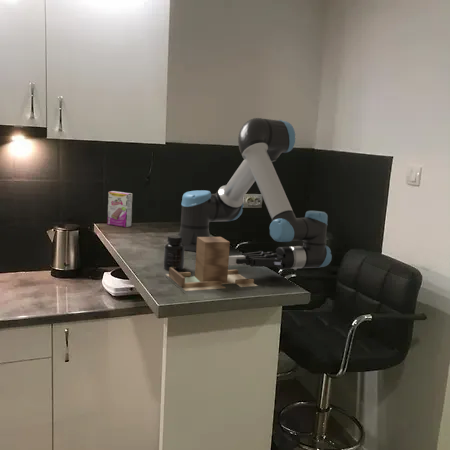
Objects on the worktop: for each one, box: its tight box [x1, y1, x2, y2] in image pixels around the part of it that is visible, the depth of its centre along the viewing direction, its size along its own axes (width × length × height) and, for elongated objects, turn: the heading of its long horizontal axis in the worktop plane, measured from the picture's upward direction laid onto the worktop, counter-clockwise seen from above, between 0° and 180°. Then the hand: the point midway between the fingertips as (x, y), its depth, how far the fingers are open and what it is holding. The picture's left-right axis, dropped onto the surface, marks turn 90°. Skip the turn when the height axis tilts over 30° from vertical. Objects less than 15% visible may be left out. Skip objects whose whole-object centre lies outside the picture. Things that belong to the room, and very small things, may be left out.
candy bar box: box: [106, 190, 134, 228], centre depth 242 cm, size 11×5×16 cm, turn 69°
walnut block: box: [194, 236, 231, 283], centre depth 156 cm, size 8×8×13 cm
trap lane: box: [165, 267, 259, 294], centre depth 157 cm, size 24×18×4 cm
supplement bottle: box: [163, 234, 186, 272], centre depth 167 cm, size 7×7×12 cm
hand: (225, 260), depth 157 cm, fingers closed
